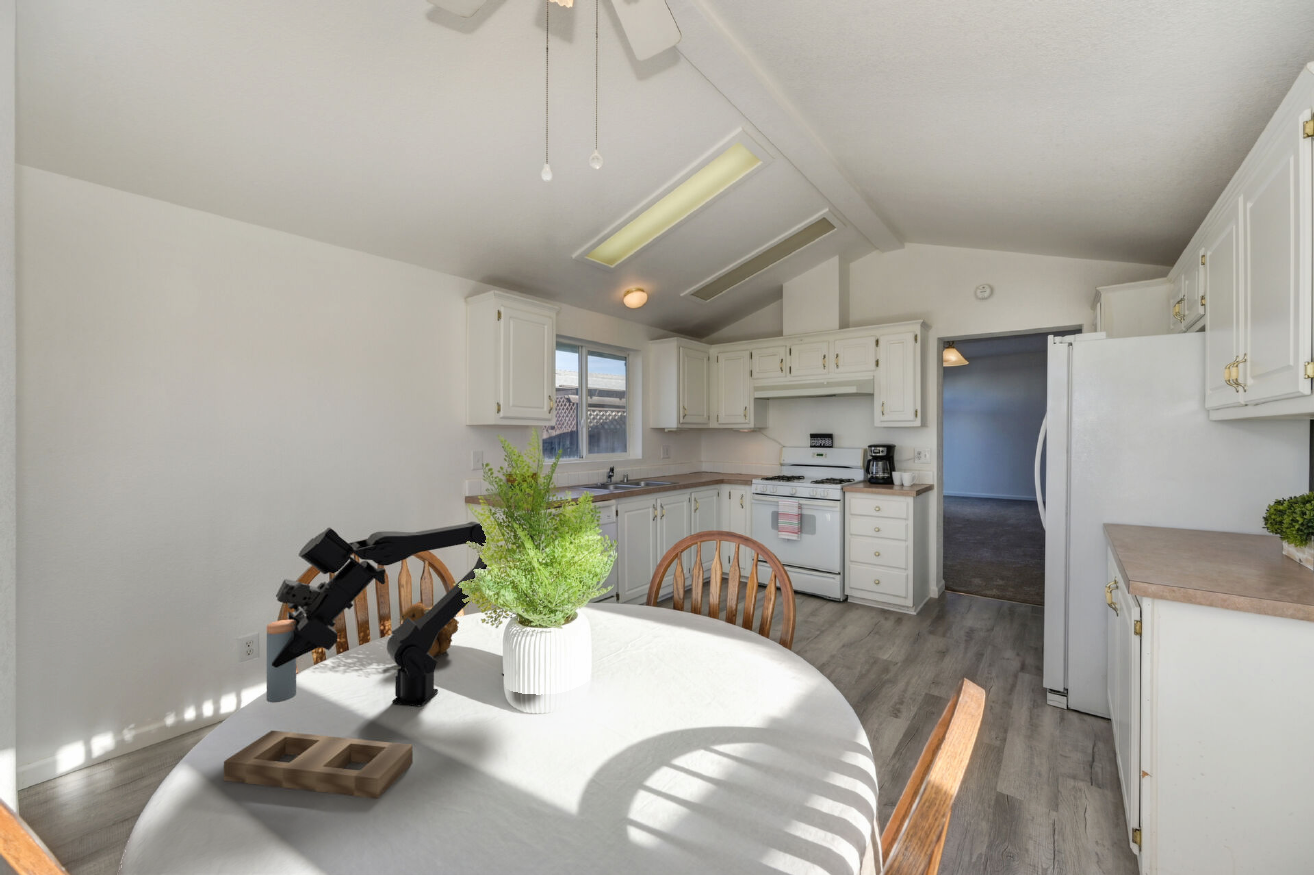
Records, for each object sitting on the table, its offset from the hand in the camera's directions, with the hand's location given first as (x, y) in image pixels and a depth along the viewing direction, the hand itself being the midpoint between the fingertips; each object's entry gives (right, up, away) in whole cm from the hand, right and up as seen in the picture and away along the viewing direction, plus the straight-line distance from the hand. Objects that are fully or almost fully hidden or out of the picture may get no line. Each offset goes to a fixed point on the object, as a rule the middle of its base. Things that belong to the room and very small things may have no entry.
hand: (272, 661), depth 99 cm
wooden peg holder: (+14, -14, -9) cm, 22 cm away
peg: (+1, -7, +1) cm, 7 cm away
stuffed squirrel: (+12, -13, +36) cm, 41 cm away
